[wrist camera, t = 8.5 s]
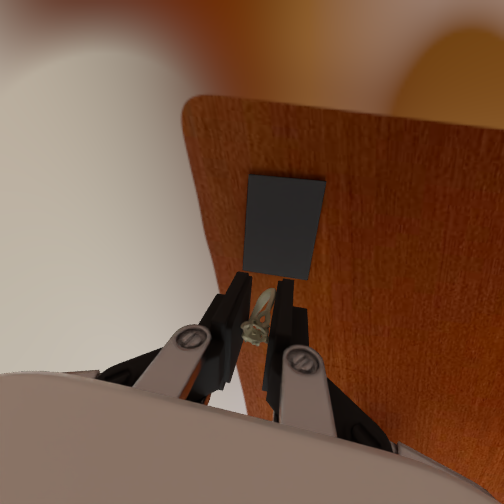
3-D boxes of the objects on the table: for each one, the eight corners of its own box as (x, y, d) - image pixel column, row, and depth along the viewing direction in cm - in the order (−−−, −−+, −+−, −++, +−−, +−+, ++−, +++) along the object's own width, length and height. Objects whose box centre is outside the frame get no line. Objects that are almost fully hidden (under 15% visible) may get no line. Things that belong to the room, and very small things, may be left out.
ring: (289, 285, 12) (286, 324, 9) (262, 320, 13) (252, 363, 10) (265, 271, 12) (255, 305, 9) (241, 307, 13) (225, 347, 10)
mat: (249, 173, 22) (248, 174, 22) (325, 181, 21) (326, 181, 20) (243, 268, 26) (242, 270, 25) (307, 278, 25) (307, 280, 24)
